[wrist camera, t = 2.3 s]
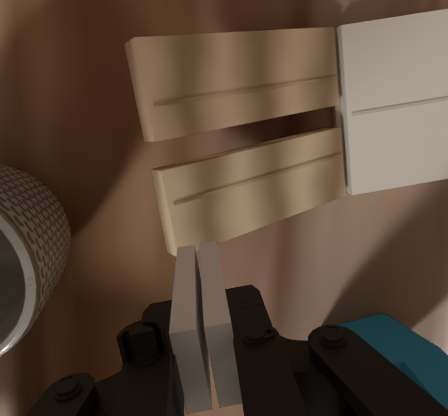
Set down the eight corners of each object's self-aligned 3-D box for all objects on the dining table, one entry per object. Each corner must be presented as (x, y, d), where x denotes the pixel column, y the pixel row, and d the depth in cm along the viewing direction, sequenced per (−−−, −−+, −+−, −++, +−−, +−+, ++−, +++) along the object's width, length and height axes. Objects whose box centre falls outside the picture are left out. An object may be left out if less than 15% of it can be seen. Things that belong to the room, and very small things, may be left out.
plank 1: (144, 141, 27) (155, 141, 25) (123, 44, 25) (134, 36, 23) (322, 106, 36) (340, 104, 34) (316, 32, 34) (334, 26, 32)
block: (403, 308, 42) (582, 477, 23) (407, 345, 43) (580, 535, 24) (299, 334, 42) (392, 528, 23) (306, 371, 43) (399, 583, 24)
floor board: (338, 191, 38) (346, 196, 36) (326, 30, 34) (334, 25, 32) (439, 174, 38) (453, 177, 36) (439, 13, 34) (455, 7, 32)
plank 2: (167, 251, 29) (179, 259, 27) (150, 169, 27) (161, 171, 26) (329, 193, 38) (346, 195, 36) (324, 127, 36) (341, 127, 34)
